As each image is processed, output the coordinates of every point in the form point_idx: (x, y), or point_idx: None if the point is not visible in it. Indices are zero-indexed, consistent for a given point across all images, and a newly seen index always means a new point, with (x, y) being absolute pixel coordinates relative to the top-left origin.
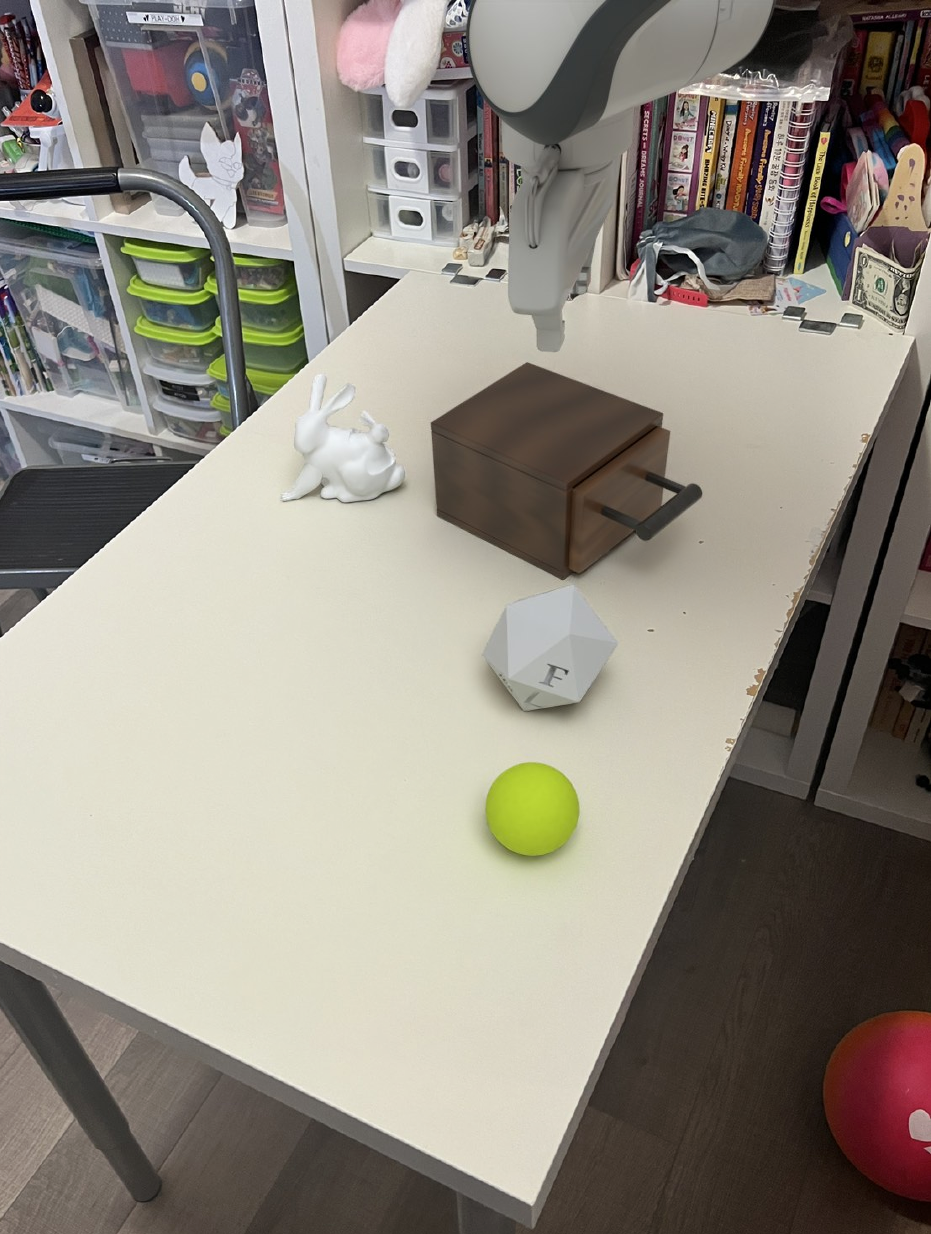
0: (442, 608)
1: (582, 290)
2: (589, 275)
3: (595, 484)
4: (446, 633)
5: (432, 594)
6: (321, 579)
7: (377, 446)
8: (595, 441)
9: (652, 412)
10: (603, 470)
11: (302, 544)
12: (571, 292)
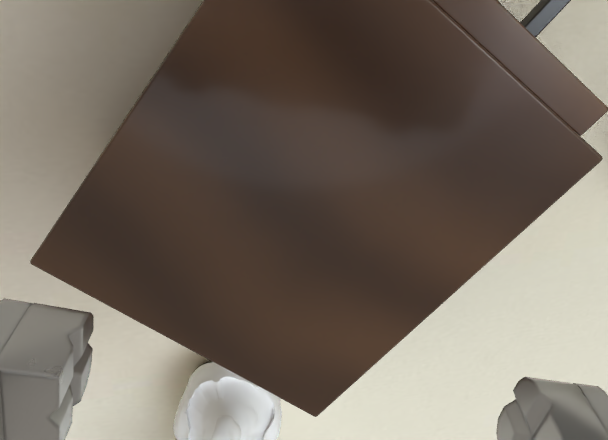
0: (539, 253)
1: (89, 328)
2: (17, 340)
3: (574, 82)
4: (596, 243)
5: (504, 269)
6: (448, 396)
7: (239, 422)
8: (431, 91)
9: None
10: (517, 62)
11: (370, 426)
12: (91, 358)
